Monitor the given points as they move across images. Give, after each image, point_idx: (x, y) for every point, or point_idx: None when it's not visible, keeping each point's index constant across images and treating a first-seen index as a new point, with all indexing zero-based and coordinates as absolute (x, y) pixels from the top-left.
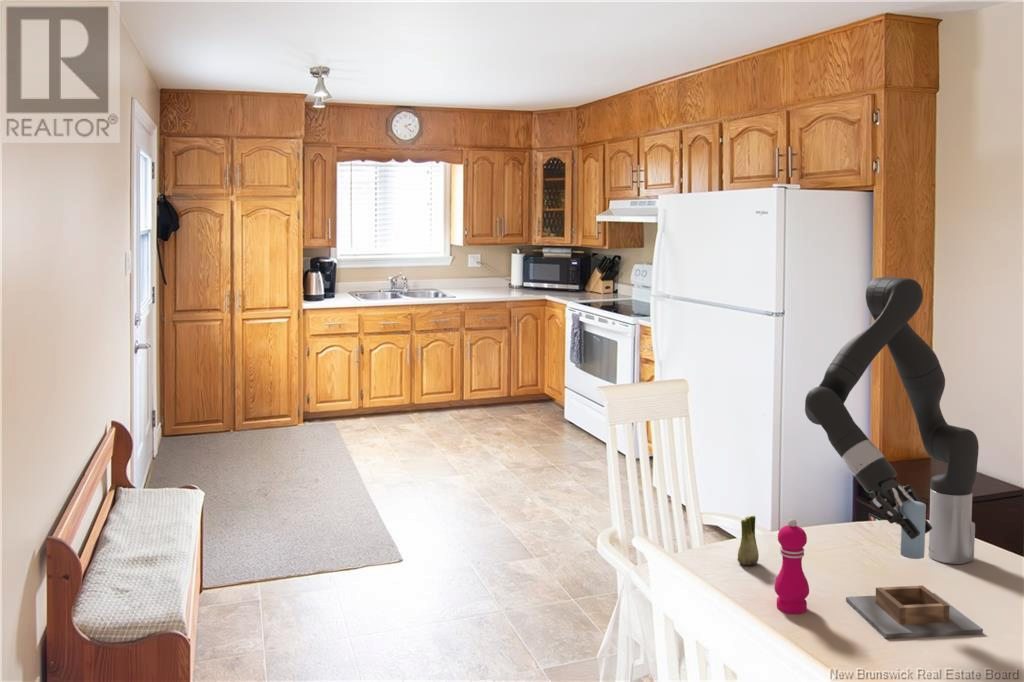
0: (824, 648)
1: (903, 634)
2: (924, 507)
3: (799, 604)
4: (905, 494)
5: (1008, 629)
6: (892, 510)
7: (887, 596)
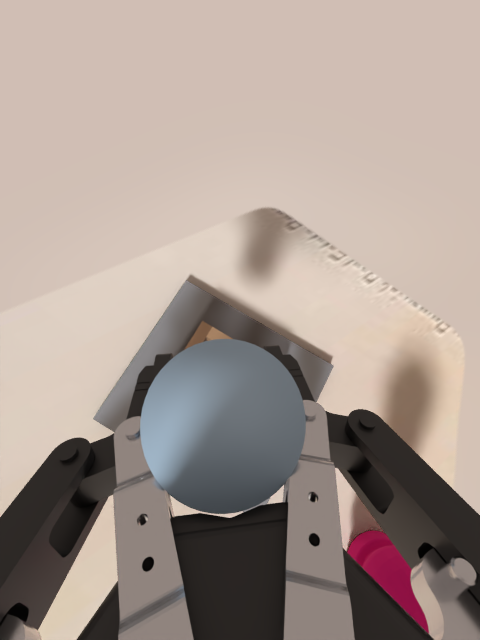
0: (438, 404)
1: (305, 350)
2: (222, 339)
3: (388, 544)
4: (156, 572)
5: (137, 267)
6: (410, 458)
7: None
